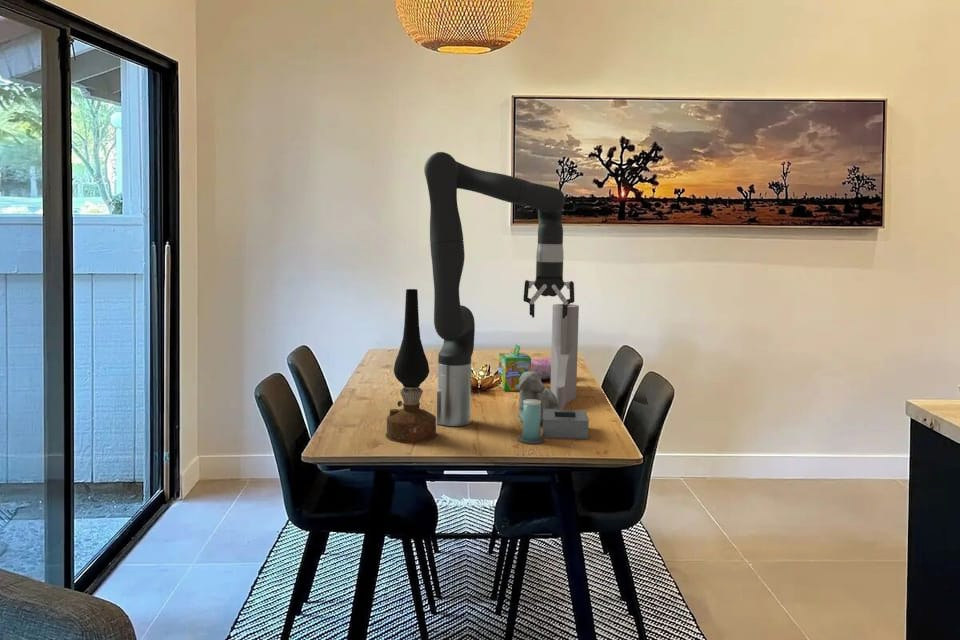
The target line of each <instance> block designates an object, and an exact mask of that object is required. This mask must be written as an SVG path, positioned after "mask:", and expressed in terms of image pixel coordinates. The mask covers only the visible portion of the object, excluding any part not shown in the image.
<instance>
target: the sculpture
mask: <svg viewBox="0 0 960 640" xmlns="http://www.w3.org/2000/svg"><path fill="white" fill-rule="evenodd" d="M519 382H520V383H519V387H518V390H520V391H519V399H518V413H517V415H518V418H519V420H520V422H521V424H523V400H526V399H536V400H540V401H541V416H540V424H542V421H543V409H559V405H558V403H557V399H556V397H555V395H554V394H553V392H552V391H551V390H550V389H551V388H550V389H549V388H548V387H546V386H545V384H544V383H543V382H542V380H541V377H540V376H539V374H538V373H537V372H532V371H528V372H524V373H523V374H522V375H521V377H520V379H519Z"/></svg>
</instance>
